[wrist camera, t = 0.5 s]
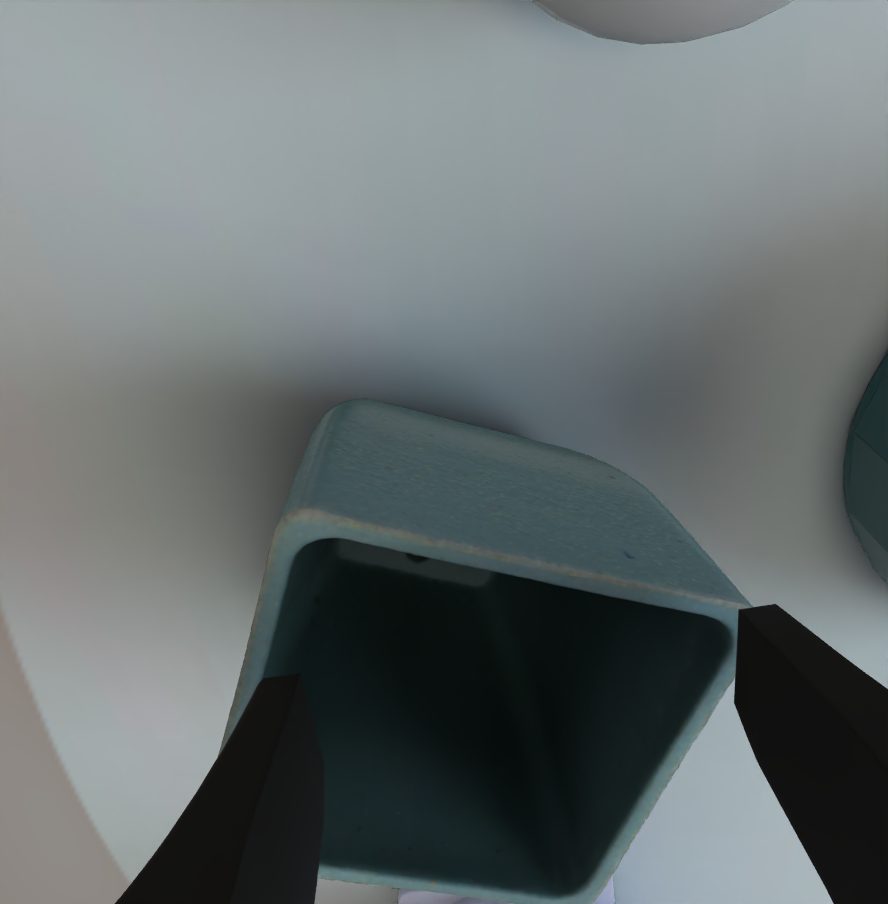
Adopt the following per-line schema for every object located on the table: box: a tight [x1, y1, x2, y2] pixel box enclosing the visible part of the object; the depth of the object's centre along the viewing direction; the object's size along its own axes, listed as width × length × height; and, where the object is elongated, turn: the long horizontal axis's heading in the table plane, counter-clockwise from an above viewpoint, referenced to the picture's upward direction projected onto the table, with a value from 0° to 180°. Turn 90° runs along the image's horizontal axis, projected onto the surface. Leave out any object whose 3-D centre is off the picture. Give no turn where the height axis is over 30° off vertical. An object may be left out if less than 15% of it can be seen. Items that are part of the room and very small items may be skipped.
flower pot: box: [218, 399, 753, 904], centre depth 20 cm, size 9×9×9 cm
